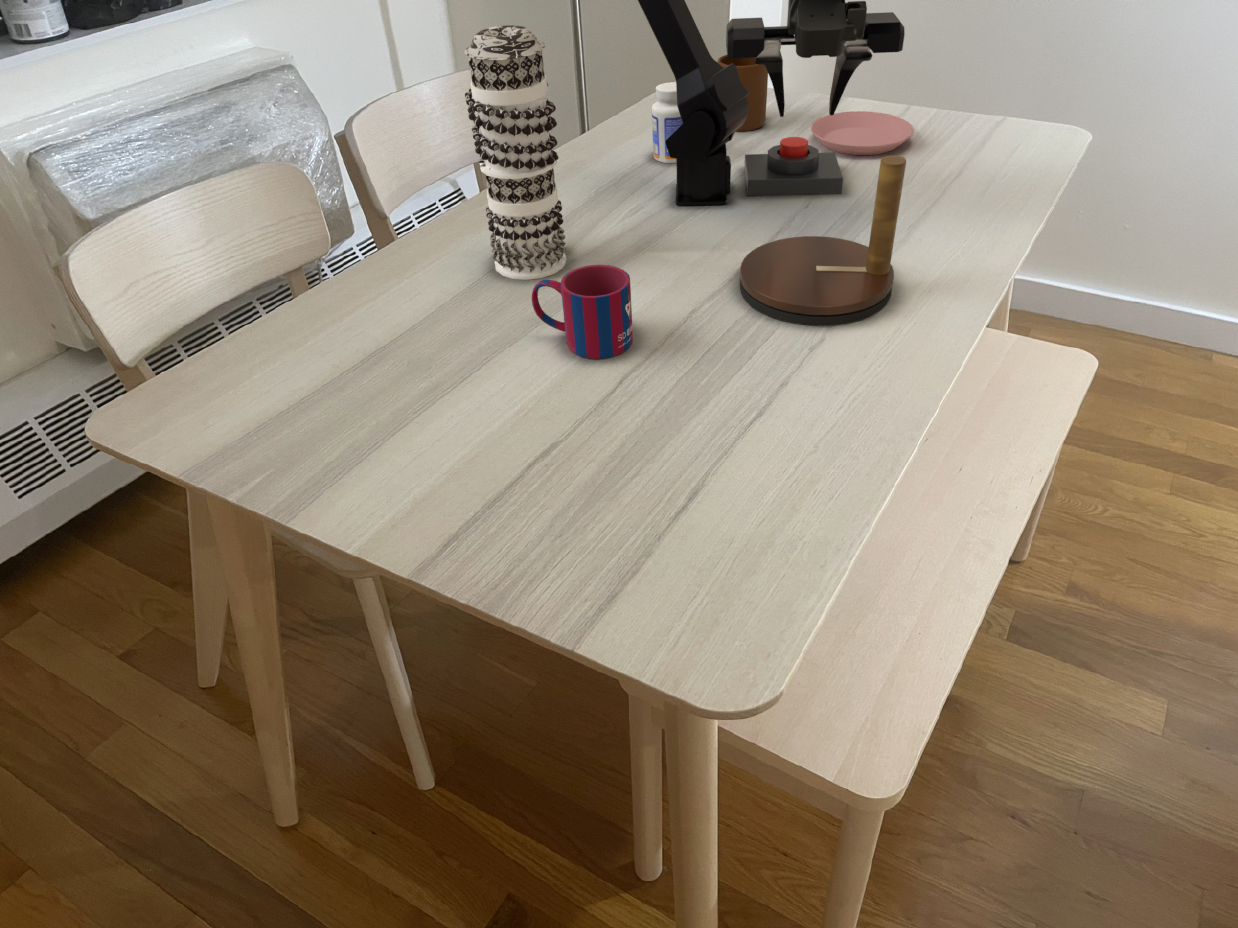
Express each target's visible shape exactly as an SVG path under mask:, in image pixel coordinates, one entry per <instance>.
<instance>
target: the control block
mask: <svg viewBox="0 0 1238 928" xmlns="http://www.w3.org/2000/svg"><path fill="white" fill-rule="evenodd" d="M779 152H780V144H777V145H774V146H772V147H770V148H769V149H768V150H767V153H758V154H757V153H754V154H750V153H749V154H744V168H743V171H744V179H745V186H746V196H747V197H774V196H775V197H777V196H779V197H780V196H781V197H782V196H819V195H820V196H821V195H822V196H823V195H842V194H843V185H844V176H843V173H842V170H841V167H840V164H839V160H838V158H837V156H836V153H835V152H836V151H827V152H825V151H823V152H820V151H819V149H818V148H817V147H815V146H813V145H811V144H808V153H807V156H806V157H802V158H786V157H782V156H780V155H779Z"/></svg>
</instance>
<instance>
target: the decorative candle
mask: <svg viewBox="0 0 1238 928" xmlns="http://www.w3.org/2000/svg"><path fill="white" fill-rule="evenodd" d="M545 48H546V43H545V42H544V41H542V40H539V39H538V38H537V36H536V35H535V33H534V32H533V31H532V30H531V29H529V28H528V27H526V26H523V25H522V26H521V25H509V24H508V25H497V26H492V27H486V28H484V29H481V30H480V31H478V32H477V33H476V34H475V35H474V36H473V38H472V40H471V43H470V45H469V46H468V47H467V48H465V49H464V55H466V56H467V60H468V65H469V66H468V67H469V72H470V79H471V80H469V84H470V88H469V89H468V91H467V92H465V93H464V97H465V102H466V105H467V106H468V107H467V109H466V110H467V113H468V114H467V115H468V117H467V118H468V119H469V120H470V121H472V122H473V124H474V125H472V127H471V132H472V133H473V134H472V139H473V140H474V144H473V145H474V146H475V148H474V152H475V153H476V154H477V155H479V159H478V163H479V168H480V172H482V173H483V174H484V175H485V183H486V187H487V190H486V199H487V205H488V206H486V208H485V212H486V218H487V219H489V220H488V221H487V225H488V230H489V232H492V233H491V234H490V236H489V240H490V247H491V248H492V249H491V252H492V253H491V254H492V255H491V256H492V259H493V260H494V268H495V271H496V272H497V273H498V274H500V275H501V276H502V277H505V278H508V279H512V280H520V281H521V280H522V281H528V280H538V279H543V278H546V277H549V276H552V275H555V274H556V273H558V272H559V271H560V270H563V269H564V268H565V265H566V264H567V262H568V261H567V256H566V251H567V247H566V242H565V241H564V240H565V239H566V235H565V234H564V233H565V229H564V228H563V227H561V225H563V224H564V219H563V214H562V213H561V212H562V210H563V205H562V201H561V200H560V199H559V193H558V187H557V184H556V181H555V178H556V177H555V170H554V168H555V167H556V165H558V160H559V155H558V153H557V151H555V150H553V149H554V148H555V147H556V146H557V145H558V140H557V138H556V137H555V136H554V135H552V134H551V133H550V131H552V130H553V129H555V128H556V127H557V126H558V123H557V122H558V121H556V118H554V117H553V116H551V115H552V113H554V112H556V109H557V107H556V105H555V104H554V102H552V101H550V100H549V99H548V98H546V95H547V93H548V91H549V88H548V87H549V83H548V78H547V75H546V73H545V71H544V70H545V69H544V66H545V65H544V57H543V50H544V49H545ZM476 113H477V115H476Z"/></svg>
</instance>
